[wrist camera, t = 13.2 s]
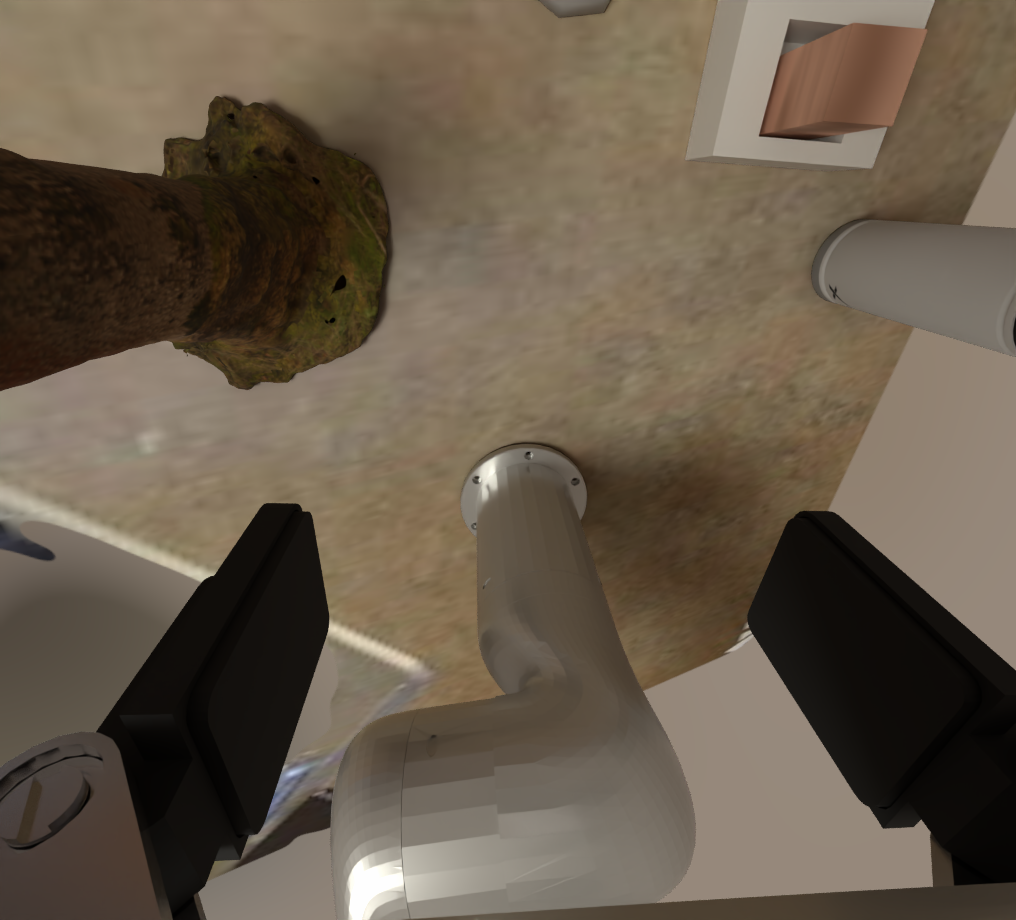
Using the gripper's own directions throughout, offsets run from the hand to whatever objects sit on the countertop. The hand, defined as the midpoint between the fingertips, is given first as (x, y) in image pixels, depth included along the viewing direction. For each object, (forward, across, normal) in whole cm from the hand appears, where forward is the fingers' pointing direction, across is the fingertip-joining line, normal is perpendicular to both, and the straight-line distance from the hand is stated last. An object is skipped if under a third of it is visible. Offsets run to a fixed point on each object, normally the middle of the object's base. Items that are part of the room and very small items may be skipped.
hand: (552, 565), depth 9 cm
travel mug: (+32, -29, -3) cm, 44 cm away
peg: (+32, -19, -13) cm, 39 cm away
